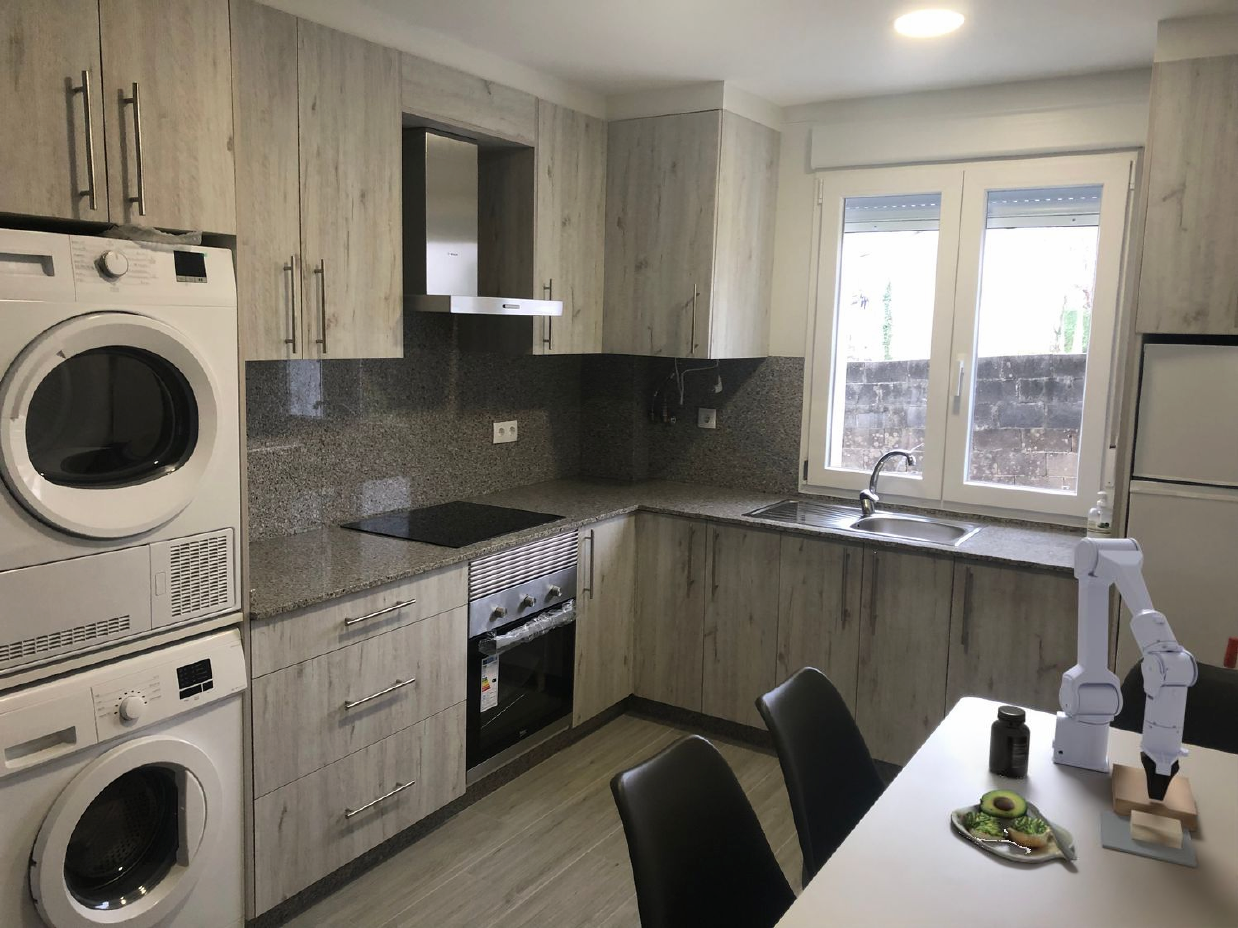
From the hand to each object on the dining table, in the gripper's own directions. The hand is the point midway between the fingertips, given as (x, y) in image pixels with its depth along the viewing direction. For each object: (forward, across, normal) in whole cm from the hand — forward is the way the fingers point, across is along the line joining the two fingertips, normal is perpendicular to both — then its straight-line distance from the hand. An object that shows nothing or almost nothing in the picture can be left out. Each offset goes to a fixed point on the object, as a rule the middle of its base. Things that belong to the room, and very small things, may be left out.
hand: (1155, 797), depth 162 cm
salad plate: (+4, -16, +22) cm, 27 cm away
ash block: (+1, -7, 0) cm, 7 cm away
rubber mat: (+4, -8, +2) cm, 9 cm away
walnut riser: (+4, +6, 0) cm, 7 cm away
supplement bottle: (+4, +8, +24) cm, 25 cm away
